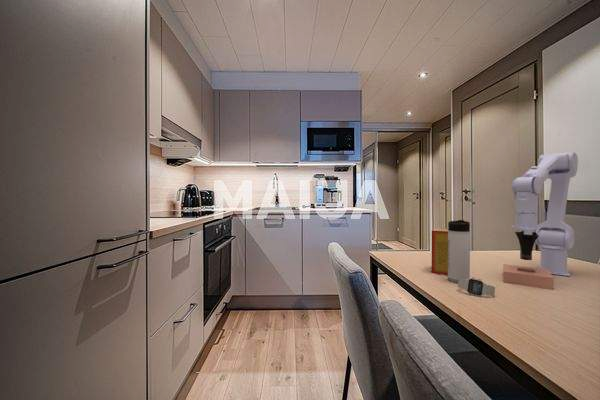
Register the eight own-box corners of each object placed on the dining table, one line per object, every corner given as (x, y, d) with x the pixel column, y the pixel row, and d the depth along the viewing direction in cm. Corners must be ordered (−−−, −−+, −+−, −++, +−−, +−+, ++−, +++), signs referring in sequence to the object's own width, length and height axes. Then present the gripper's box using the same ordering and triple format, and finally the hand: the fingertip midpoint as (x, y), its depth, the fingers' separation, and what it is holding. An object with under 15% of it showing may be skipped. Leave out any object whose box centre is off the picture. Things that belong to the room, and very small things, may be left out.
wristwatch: (456, 293, 80) (456, 276, 80) (459, 287, 85) (459, 271, 85) (494, 300, 74) (494, 281, 74) (495, 293, 79) (495, 276, 79)
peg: (519, 257, 93) (520, 237, 93) (531, 258, 91) (531, 237, 91) (520, 259, 90) (520, 238, 90) (532, 260, 89) (532, 239, 88)
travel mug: (471, 280, 91) (472, 220, 91) (467, 285, 86) (467, 221, 86) (451, 276, 95) (451, 219, 95) (445, 281, 91) (445, 220, 90)
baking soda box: (451, 275, 97) (452, 230, 96) (431, 272, 100) (431, 229, 100) (454, 270, 104) (455, 228, 104) (436, 267, 108) (436, 227, 108)
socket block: (503, 273, 99) (503, 264, 99) (547, 279, 92) (547, 269, 92) (503, 282, 89) (503, 271, 89) (553, 289, 82) (553, 277, 82)
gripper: (510, 211, 99) (510, 249, 99) (511, 213, 87) (511, 256, 87) (536, 212, 95) (535, 251, 95) (541, 214, 83) (541, 259, 83)
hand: (526, 254), depth 91 cm, fingers closed on peg, 3 cm apart
